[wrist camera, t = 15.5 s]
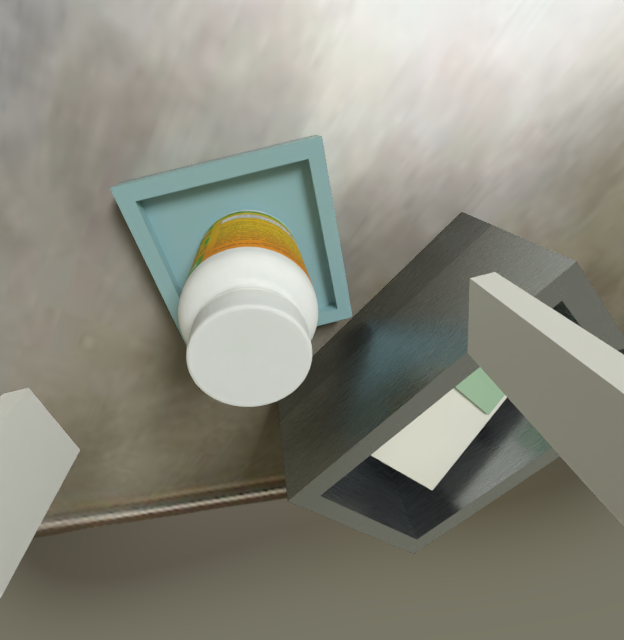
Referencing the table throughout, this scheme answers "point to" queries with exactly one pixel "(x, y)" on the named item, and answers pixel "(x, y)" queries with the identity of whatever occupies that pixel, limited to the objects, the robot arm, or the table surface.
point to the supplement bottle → (248, 311)
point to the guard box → (422, 389)
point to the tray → (233, 195)
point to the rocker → (443, 431)
